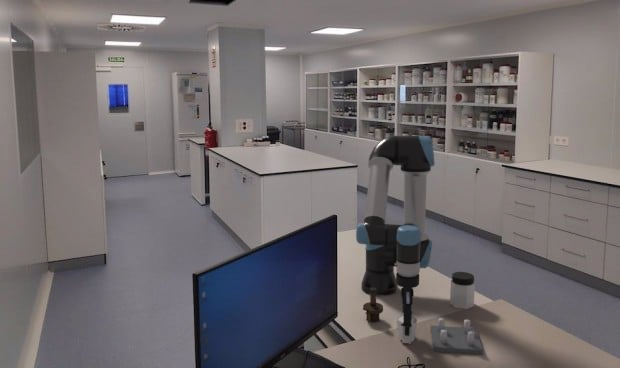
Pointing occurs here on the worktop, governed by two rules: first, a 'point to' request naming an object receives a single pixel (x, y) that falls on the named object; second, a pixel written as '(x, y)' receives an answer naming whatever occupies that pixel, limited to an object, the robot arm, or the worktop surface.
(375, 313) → the industrial component
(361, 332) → the worktop surface
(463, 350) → the pin plate
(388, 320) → the worktop surface
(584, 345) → the worktop surface
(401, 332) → the shot glass
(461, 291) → the jar
